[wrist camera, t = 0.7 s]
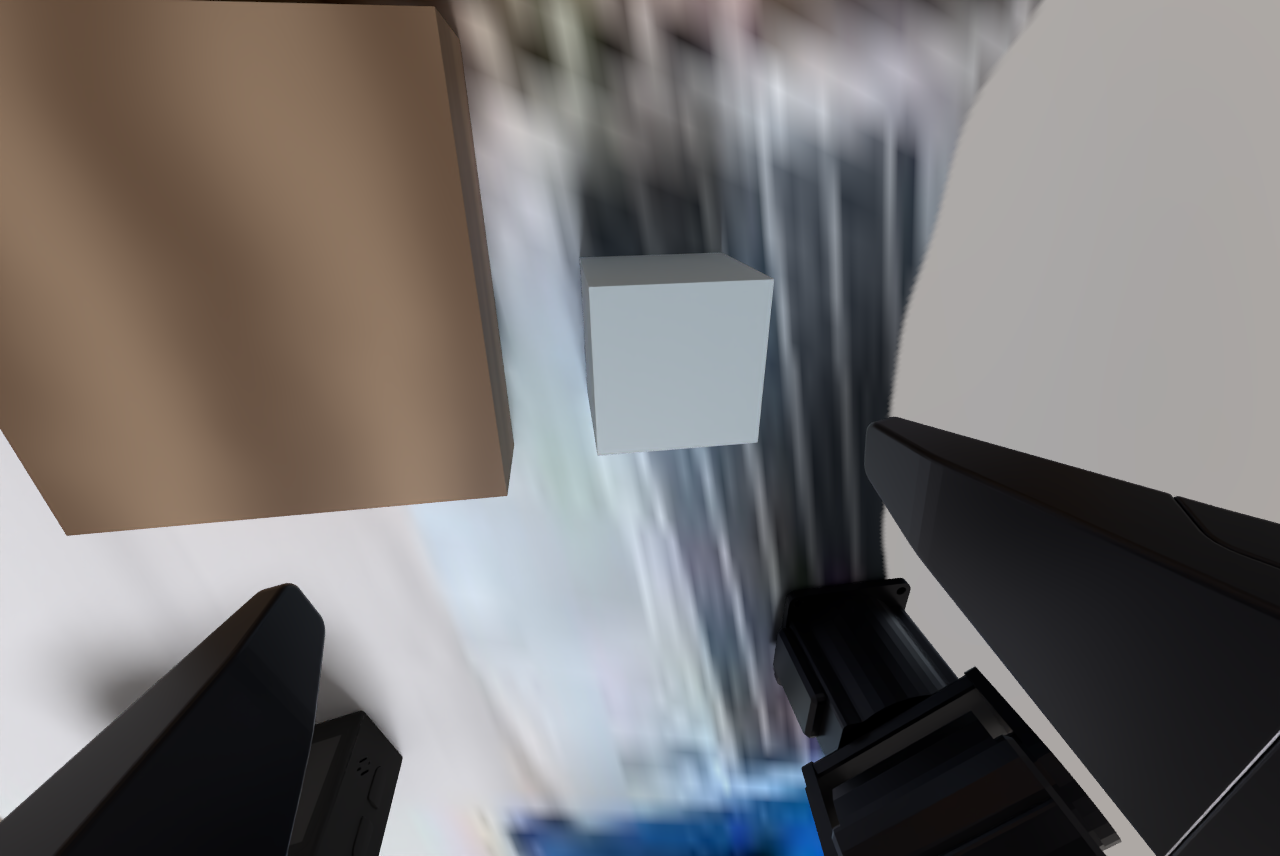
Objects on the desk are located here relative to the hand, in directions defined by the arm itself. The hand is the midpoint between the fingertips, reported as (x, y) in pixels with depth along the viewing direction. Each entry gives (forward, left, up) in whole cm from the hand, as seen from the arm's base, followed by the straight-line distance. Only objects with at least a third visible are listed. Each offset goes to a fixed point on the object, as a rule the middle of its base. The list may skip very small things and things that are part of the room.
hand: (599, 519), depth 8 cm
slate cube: (-3, 0, -12) cm, 12 cm away
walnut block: (+9, -2, -13) cm, 16 cm away
